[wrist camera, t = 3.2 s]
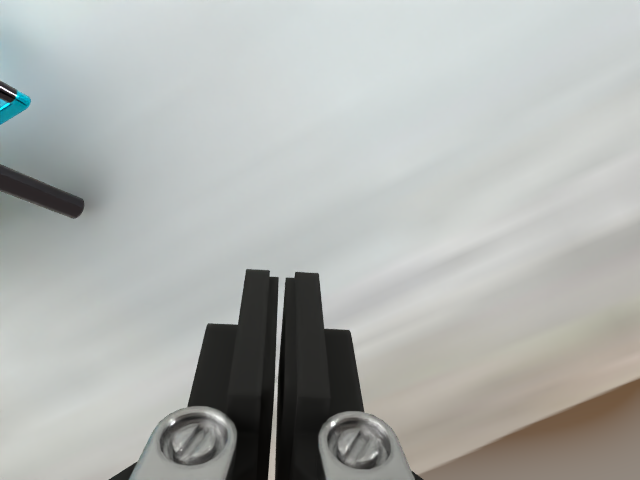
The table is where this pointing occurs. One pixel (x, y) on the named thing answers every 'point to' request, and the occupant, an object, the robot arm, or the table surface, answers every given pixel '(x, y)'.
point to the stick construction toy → (4, 105)
